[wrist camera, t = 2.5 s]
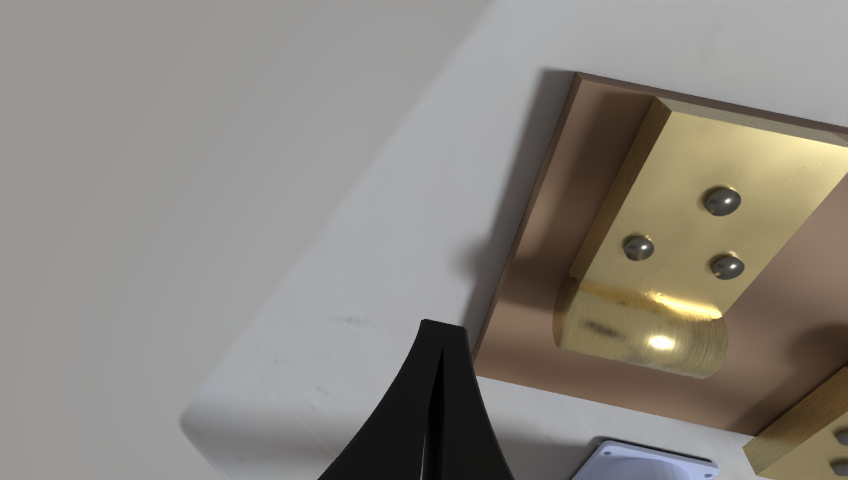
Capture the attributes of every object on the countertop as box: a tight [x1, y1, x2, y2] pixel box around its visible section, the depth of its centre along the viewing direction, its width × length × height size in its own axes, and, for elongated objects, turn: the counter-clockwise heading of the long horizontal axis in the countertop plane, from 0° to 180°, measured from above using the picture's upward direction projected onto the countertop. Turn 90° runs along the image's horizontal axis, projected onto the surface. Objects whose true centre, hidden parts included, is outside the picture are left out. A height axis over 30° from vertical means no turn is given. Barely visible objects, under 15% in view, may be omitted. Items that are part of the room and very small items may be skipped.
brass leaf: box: [552, 96, 848, 379], centre depth 16 cm, size 11×6×3 cm, turn 171°
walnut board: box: [471, 72, 848, 437], centre depth 19 cm, size 17×24×1 cm
